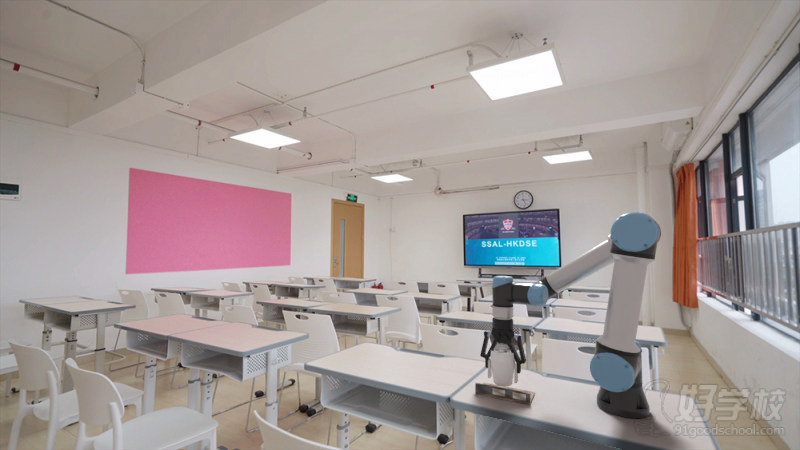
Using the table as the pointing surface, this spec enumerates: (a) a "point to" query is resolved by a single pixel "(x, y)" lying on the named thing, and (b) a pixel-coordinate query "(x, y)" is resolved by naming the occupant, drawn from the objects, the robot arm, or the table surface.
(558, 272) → the robot arm
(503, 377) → the cup
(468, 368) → the table surface
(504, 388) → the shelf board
